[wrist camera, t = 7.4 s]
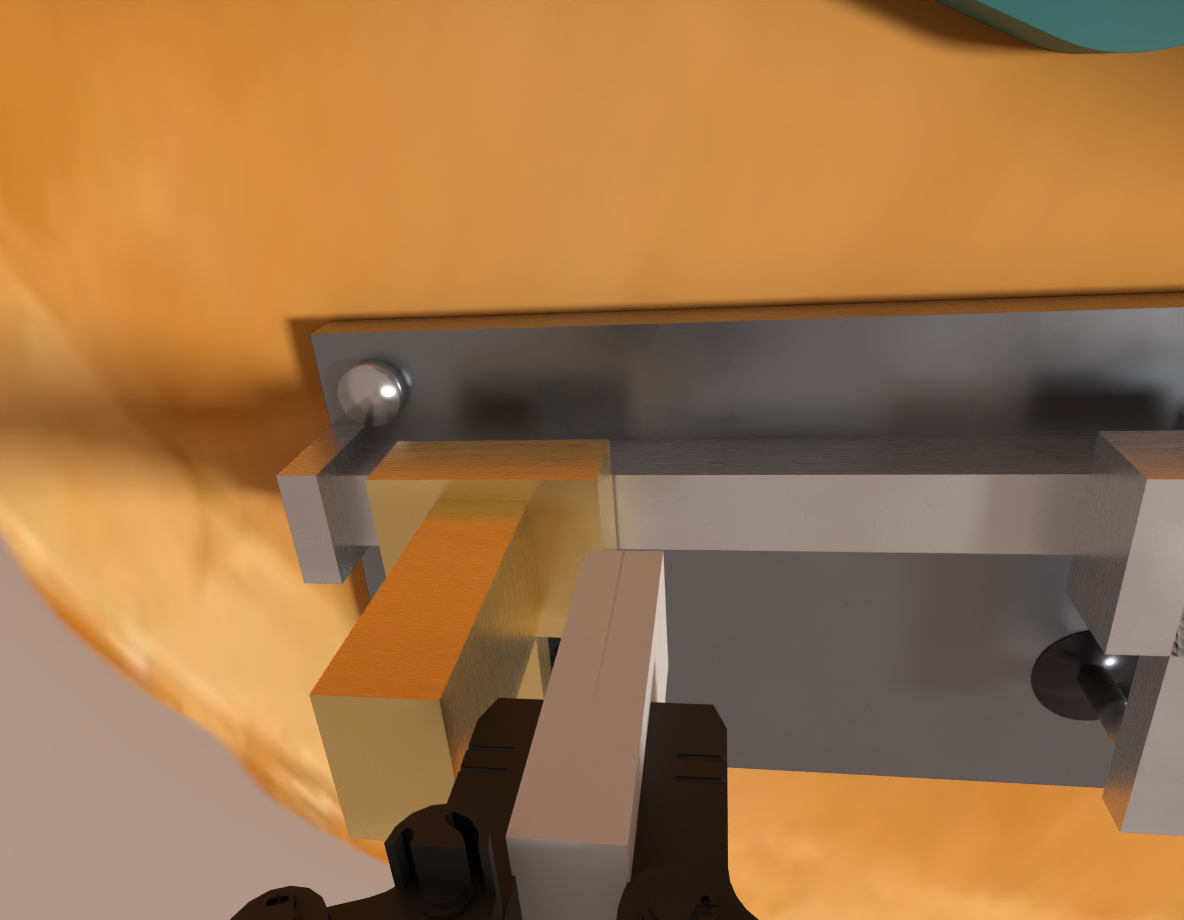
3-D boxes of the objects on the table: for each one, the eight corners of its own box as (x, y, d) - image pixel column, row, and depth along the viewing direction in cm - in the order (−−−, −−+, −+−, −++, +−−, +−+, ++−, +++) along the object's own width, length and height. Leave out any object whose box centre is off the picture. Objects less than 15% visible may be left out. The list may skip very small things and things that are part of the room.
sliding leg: (423, 411, 21) (207, 664, 12) (618, 409, 20) (537, 676, 11) (471, 689, 25) (333, 1032, 16) (637, 696, 24) (587, 1062, 15)
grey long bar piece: (326, 408, 22) (243, 480, 18) (1361, 391, 18) (1531, 479, 14) (387, 677, 25) (330, 783, 22) (1250, 711, 22) (1360, 847, 18)
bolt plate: (330, 320, 22) (299, 341, 20) (1352, 286, 18) (1414, 308, 16) (416, 723, 28) (397, 763, 26) (1199, 761, 24) (1233, 812, 22)
